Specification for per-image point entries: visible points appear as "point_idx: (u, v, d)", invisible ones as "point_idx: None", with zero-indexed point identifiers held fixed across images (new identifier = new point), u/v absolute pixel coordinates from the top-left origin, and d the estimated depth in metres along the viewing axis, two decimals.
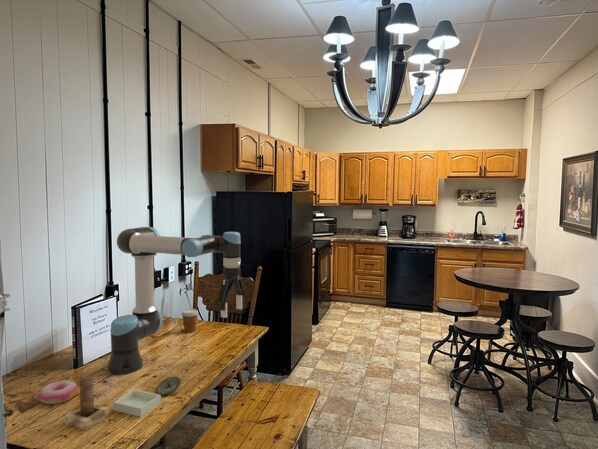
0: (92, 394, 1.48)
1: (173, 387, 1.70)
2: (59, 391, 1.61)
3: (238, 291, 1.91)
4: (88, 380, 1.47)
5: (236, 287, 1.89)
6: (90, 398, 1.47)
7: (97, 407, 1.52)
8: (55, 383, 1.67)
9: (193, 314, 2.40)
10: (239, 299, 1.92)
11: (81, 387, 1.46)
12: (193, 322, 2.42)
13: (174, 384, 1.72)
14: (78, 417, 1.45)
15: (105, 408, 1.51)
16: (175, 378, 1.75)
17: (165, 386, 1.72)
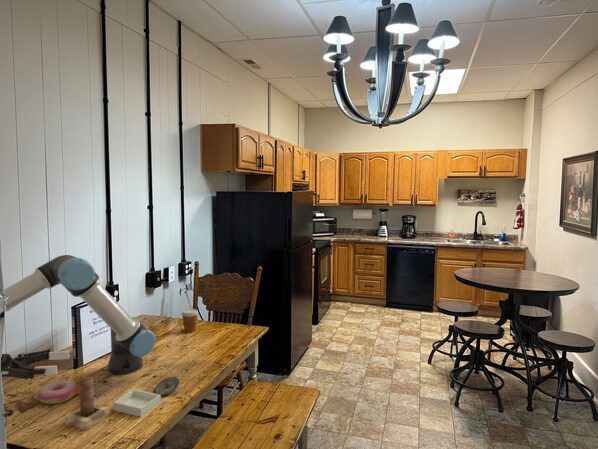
0: (92, 394, 1.48)
1: (172, 387, 1.70)
2: (59, 391, 1.61)
3: None
4: (88, 380, 1.47)
5: None
6: (90, 398, 1.47)
7: (97, 407, 1.52)
8: (55, 383, 1.67)
9: (193, 314, 2.40)
10: None
11: (81, 387, 1.46)
12: (193, 322, 2.42)
13: (173, 385, 1.71)
14: (78, 417, 1.45)
15: (105, 408, 1.51)
16: (174, 378, 1.74)
17: (163, 386, 1.72)
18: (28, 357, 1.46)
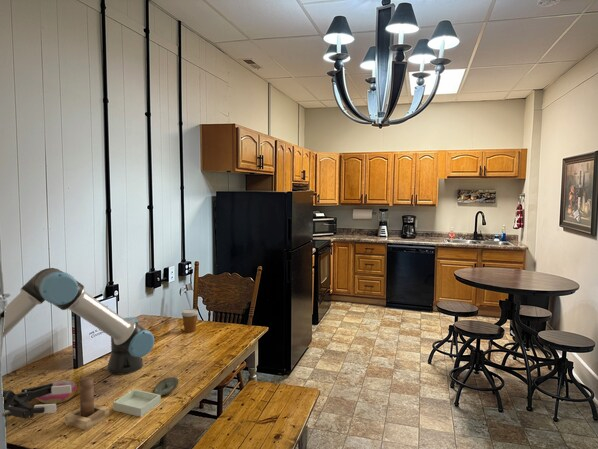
0: (92, 394, 1.48)
1: (170, 388, 1.69)
2: None
3: None
4: (88, 380, 1.47)
5: None
6: (90, 398, 1.47)
7: (97, 407, 1.52)
8: (54, 383, 1.67)
9: (193, 314, 2.40)
10: None
11: (81, 387, 1.46)
12: (193, 322, 2.42)
13: (172, 385, 1.71)
14: (78, 417, 1.45)
15: (105, 408, 1.51)
16: (173, 379, 1.74)
17: (162, 386, 1.72)
18: (30, 393, 1.48)
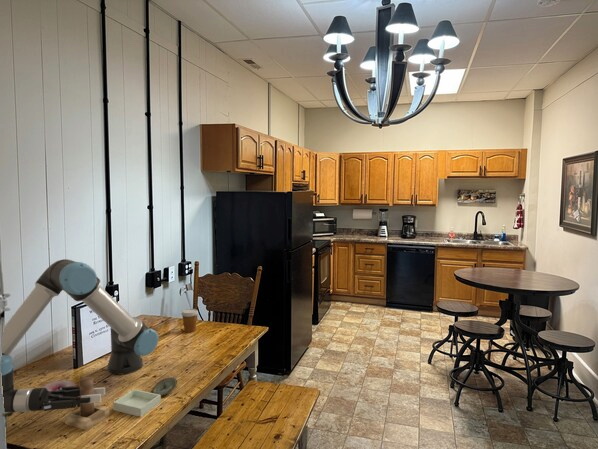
0: (92, 394, 1.48)
1: (169, 388, 1.69)
2: None
3: None
4: (88, 380, 1.47)
5: None
6: None
7: (97, 407, 1.52)
8: (54, 383, 1.67)
9: (193, 314, 2.40)
10: None
11: (81, 387, 1.46)
12: (193, 322, 2.42)
13: (170, 385, 1.71)
14: (78, 417, 1.45)
15: (105, 408, 1.51)
16: (171, 379, 1.74)
17: (161, 387, 1.71)
18: (63, 392, 1.48)
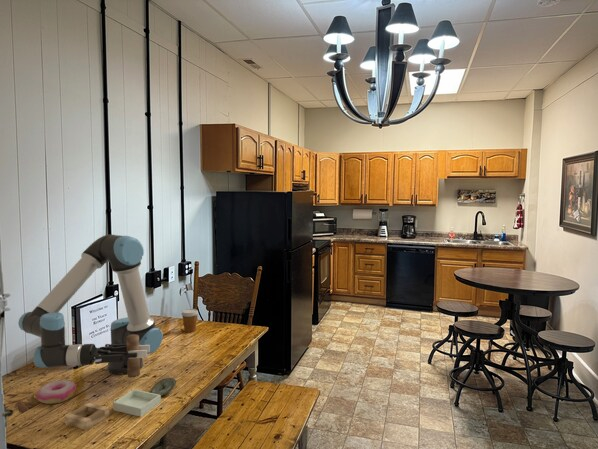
0: None
1: (168, 388, 1.69)
2: (58, 391, 1.61)
3: None
4: (134, 337, 1.55)
5: None
6: None
7: (97, 407, 1.52)
8: (54, 383, 1.67)
9: (193, 314, 2.40)
10: None
11: (128, 343, 1.54)
12: (193, 322, 2.42)
13: (169, 386, 1.70)
14: (78, 417, 1.45)
15: (105, 408, 1.51)
16: (170, 379, 1.74)
17: (159, 387, 1.71)
18: (111, 348, 1.56)
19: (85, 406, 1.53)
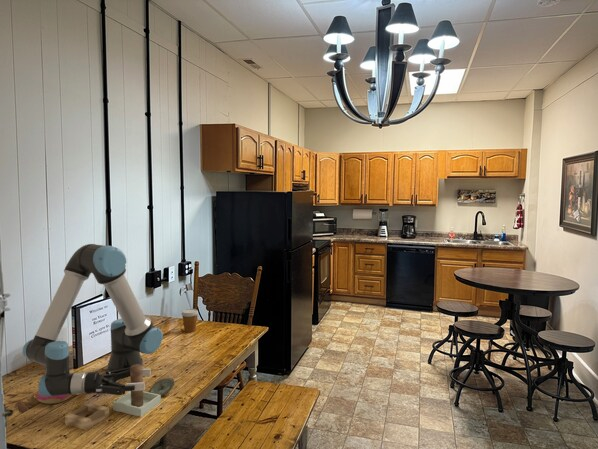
0: (142, 380, 1.58)
1: (167, 389, 1.68)
2: None
3: None
4: (138, 367, 1.57)
5: None
6: None
7: (97, 407, 1.52)
8: None
9: (193, 314, 2.40)
10: None
11: (132, 373, 1.56)
12: (193, 322, 2.42)
13: (168, 386, 1.70)
14: (78, 417, 1.45)
15: (105, 408, 1.51)
16: (168, 380, 1.73)
17: (158, 387, 1.71)
18: (115, 375, 1.59)
19: (85, 406, 1.53)
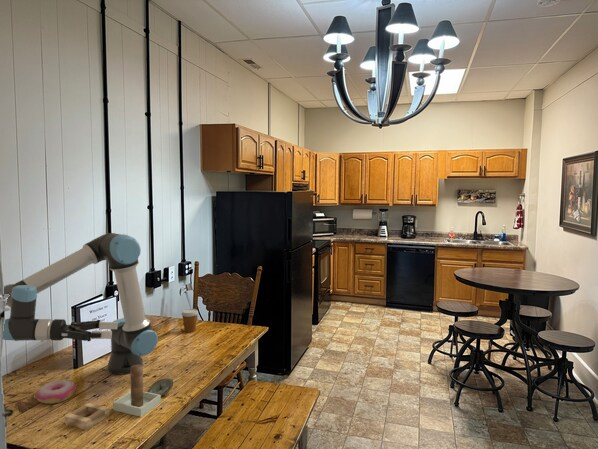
0: (142, 380, 1.58)
1: (165, 389, 1.68)
2: (57, 391, 1.61)
3: None
4: (138, 367, 1.57)
5: None
6: (140, 384, 1.57)
7: (97, 407, 1.52)
8: (53, 383, 1.67)
9: (193, 314, 2.40)
10: None
11: (132, 374, 1.56)
12: (193, 322, 2.42)
13: (166, 386, 1.70)
14: (78, 417, 1.45)
15: (105, 408, 1.51)
16: (167, 380, 1.73)
17: (157, 388, 1.70)
18: (82, 324, 1.57)
19: (85, 406, 1.53)
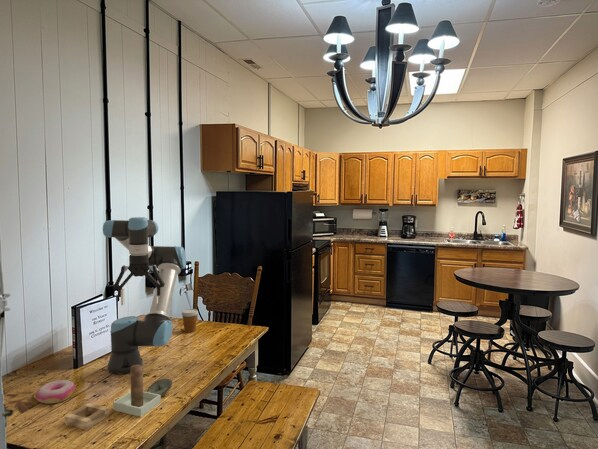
0: (142, 380, 1.58)
1: (164, 389, 1.68)
2: (57, 391, 1.61)
3: None
4: (138, 367, 1.57)
5: None
6: (140, 384, 1.57)
7: (97, 407, 1.52)
8: (53, 383, 1.67)
9: (193, 314, 2.40)
10: (155, 292, 1.76)
11: (132, 374, 1.56)
12: (193, 322, 2.42)
13: (165, 386, 1.70)
14: (78, 417, 1.45)
15: (105, 408, 1.51)
16: (166, 380, 1.73)
17: (155, 388, 1.70)
18: (132, 275, 1.75)
19: (85, 406, 1.53)
